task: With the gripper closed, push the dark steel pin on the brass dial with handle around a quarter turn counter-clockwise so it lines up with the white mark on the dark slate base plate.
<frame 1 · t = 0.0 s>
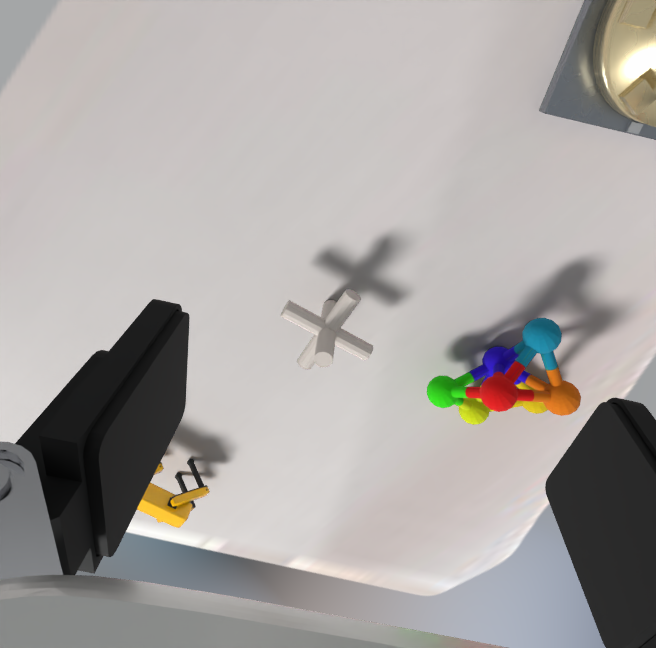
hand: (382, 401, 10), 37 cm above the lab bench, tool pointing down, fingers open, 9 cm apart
pipe connector: (331, 306, 52), on the lab bench
robot dog: (155, 450, 67), on the lab bench
molecular model: (491, 363, 54), on the lab bench
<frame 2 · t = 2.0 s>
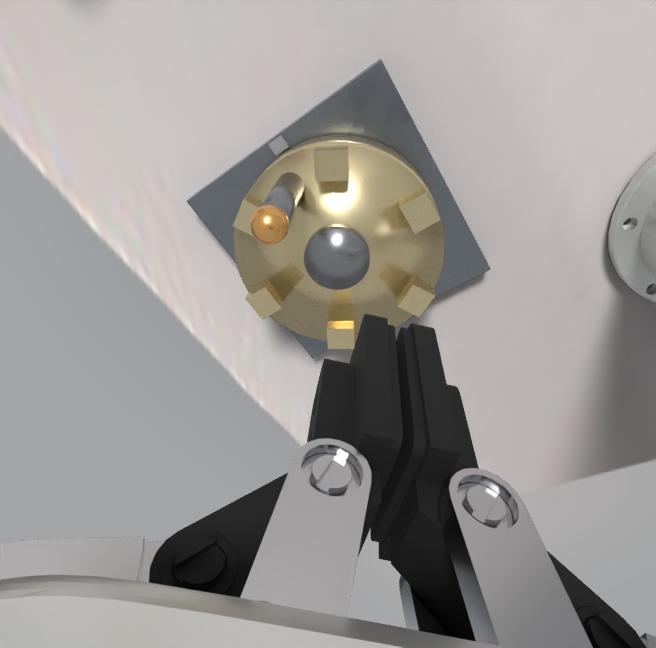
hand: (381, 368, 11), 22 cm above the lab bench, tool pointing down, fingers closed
brass dial with handle: (335, 270, 27), point 7 cm above the lab bench, hinge at 0.0°
base plate: (341, 228, 33), on the lab bench
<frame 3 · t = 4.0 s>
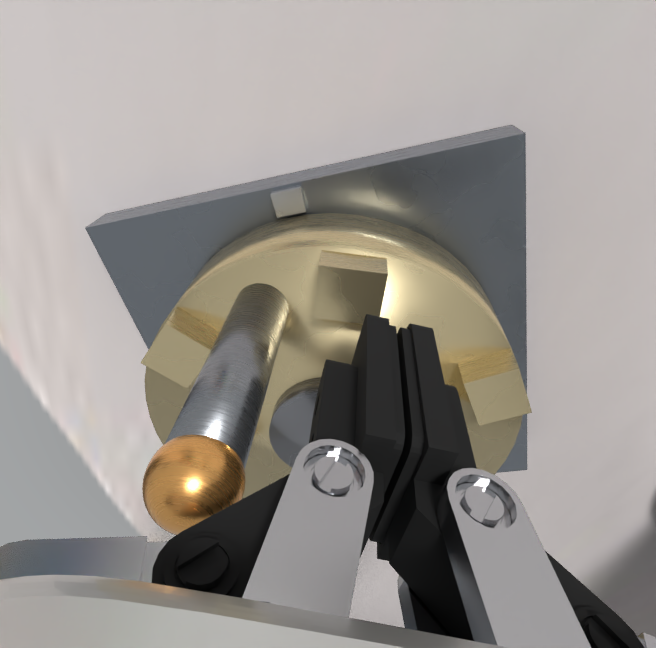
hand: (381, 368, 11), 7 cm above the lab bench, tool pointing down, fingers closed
brass dial with handle: (325, 471, 14), point 7 cm above the lab bench, hinge at 11.2°, touching gripper
base plate: (337, 343, 20), on the lab bench
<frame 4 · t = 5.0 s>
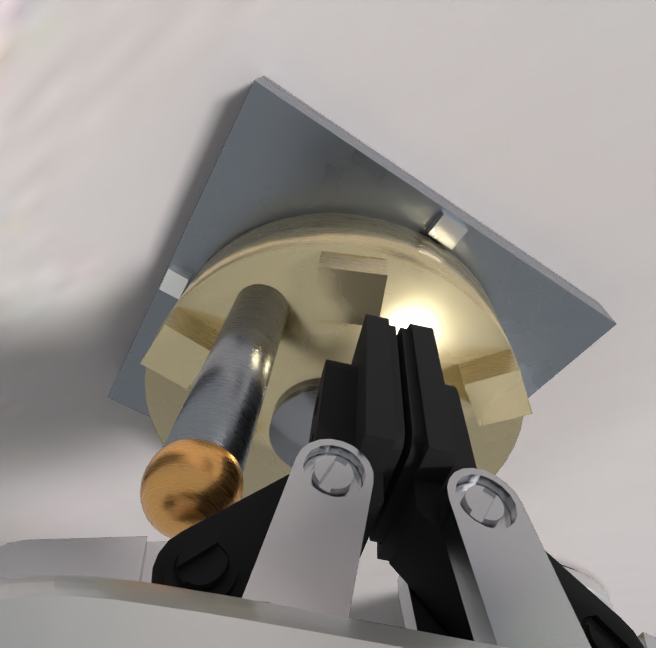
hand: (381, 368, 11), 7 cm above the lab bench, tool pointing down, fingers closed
brass dial with handle: (324, 471, 14), point 7 cm above the lab bench, hinge at 55.7°, touching gripper
base plate: (337, 343, 20), on the lab bench
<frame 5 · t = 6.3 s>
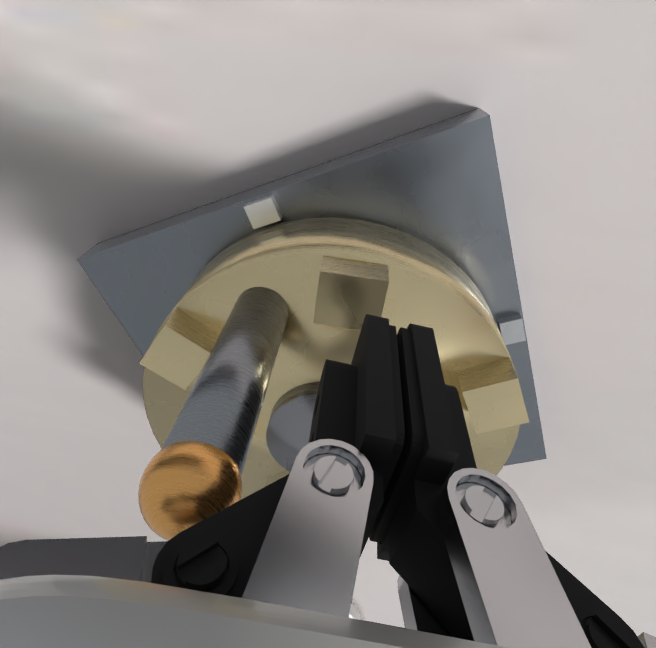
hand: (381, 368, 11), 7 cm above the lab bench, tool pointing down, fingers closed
brass dial with handle: (321, 475, 14), point 7 cm above the lab bench, hinge at 92.9°, touching gripper
base plate: (335, 347, 20), on the lab bench
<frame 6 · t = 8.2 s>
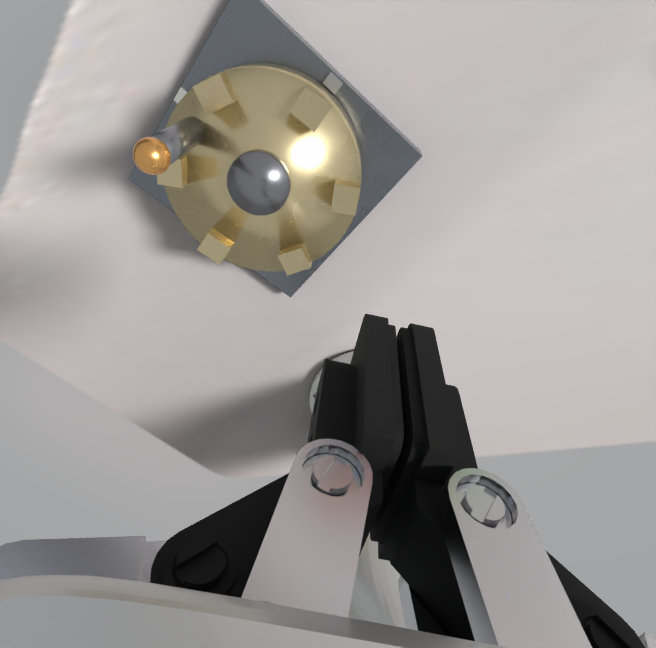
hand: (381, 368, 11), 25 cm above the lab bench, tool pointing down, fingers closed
brass dial with handle: (253, 191, 28), point 7 cm above the lab bench, hinge at 91.9°
base plate: (273, 162, 34), on the lab bench
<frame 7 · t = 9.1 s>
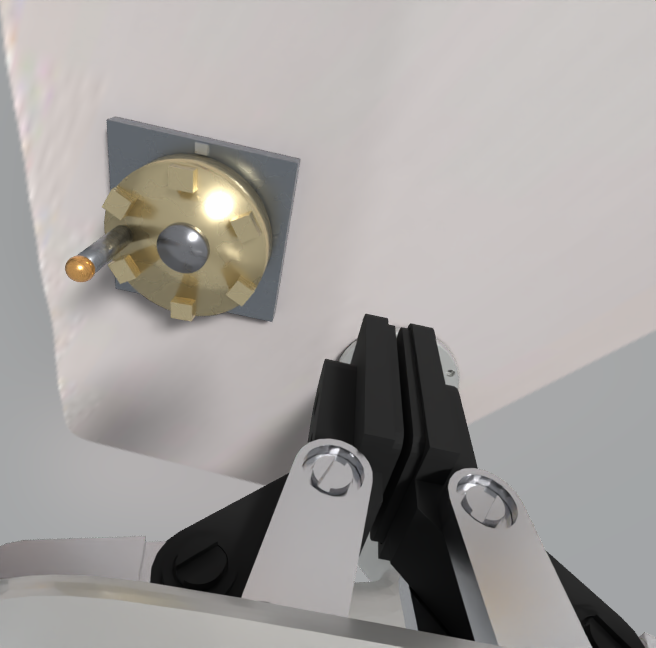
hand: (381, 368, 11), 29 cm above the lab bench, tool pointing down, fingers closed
brass dial with handle: (175, 257, 35), point 7 cm above the lab bench, hinge at 91.9°
base plate: (203, 225, 41), on the lab bench
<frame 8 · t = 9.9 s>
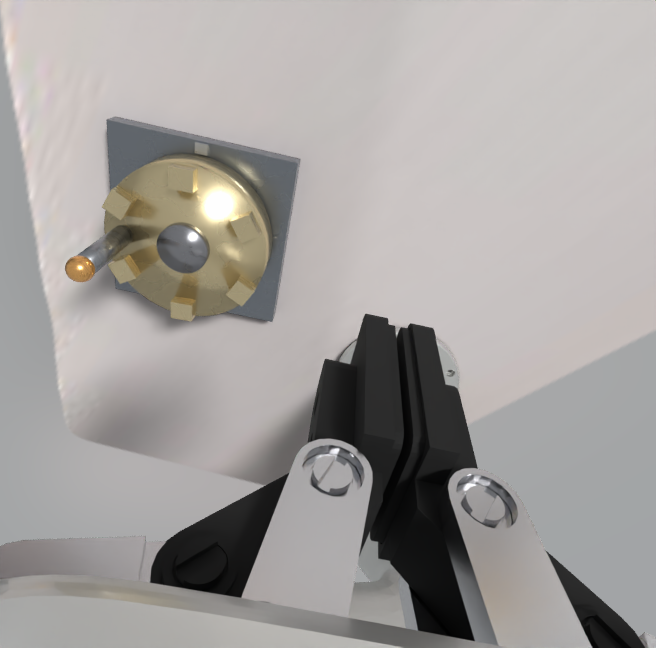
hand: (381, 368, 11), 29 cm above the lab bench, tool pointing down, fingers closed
brass dial with handle: (175, 257, 35), point 7 cm above the lab bench, hinge at 91.9°
base plate: (203, 225, 41), on the lab bench
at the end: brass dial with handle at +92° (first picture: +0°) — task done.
